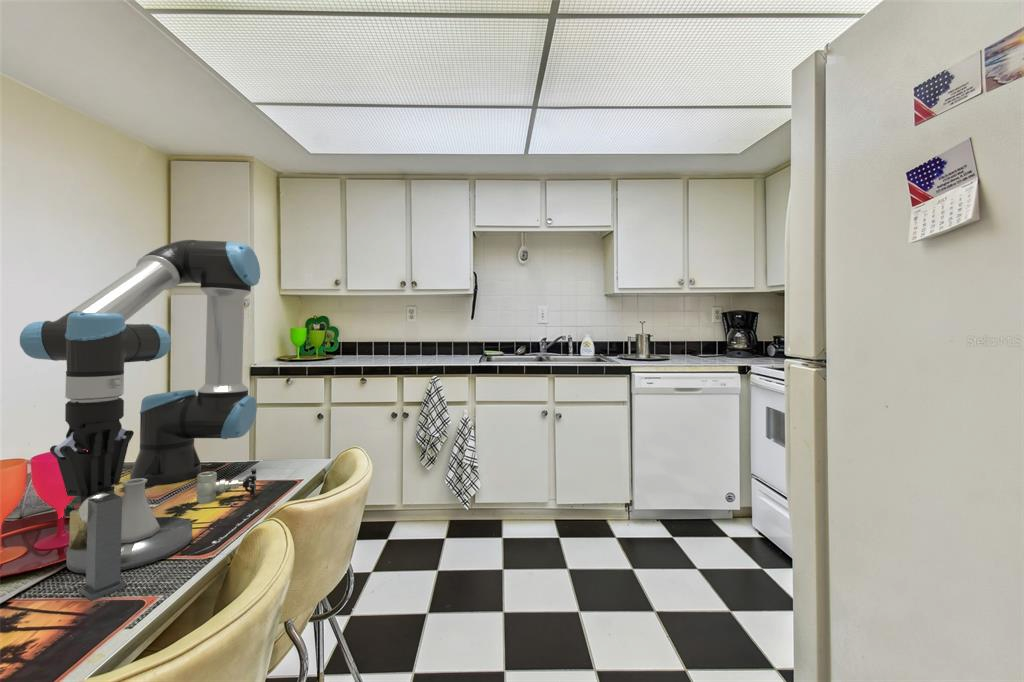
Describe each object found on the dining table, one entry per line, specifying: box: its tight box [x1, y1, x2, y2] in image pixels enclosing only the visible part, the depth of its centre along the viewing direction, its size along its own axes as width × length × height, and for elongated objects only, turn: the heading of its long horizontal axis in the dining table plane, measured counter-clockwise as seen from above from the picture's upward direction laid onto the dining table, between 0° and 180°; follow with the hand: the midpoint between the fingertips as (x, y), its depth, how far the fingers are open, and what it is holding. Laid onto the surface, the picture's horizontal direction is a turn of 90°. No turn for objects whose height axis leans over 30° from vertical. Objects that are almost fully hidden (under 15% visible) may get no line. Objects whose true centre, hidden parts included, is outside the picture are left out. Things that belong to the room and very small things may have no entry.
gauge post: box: [78, 493, 127, 601], centre depth 66 cm, size 4×5×14 cm
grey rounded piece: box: [66, 509, 193, 574], centre depth 78 cm, size 17×17×8 cm
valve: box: [195, 468, 257, 505], centre depth 104 cm, size 7×7×12 cm
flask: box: [121, 478, 161, 543], centre depth 78 cm, size 7×7×10 cm
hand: (94, 529), depth 78 cm, fingers closed
